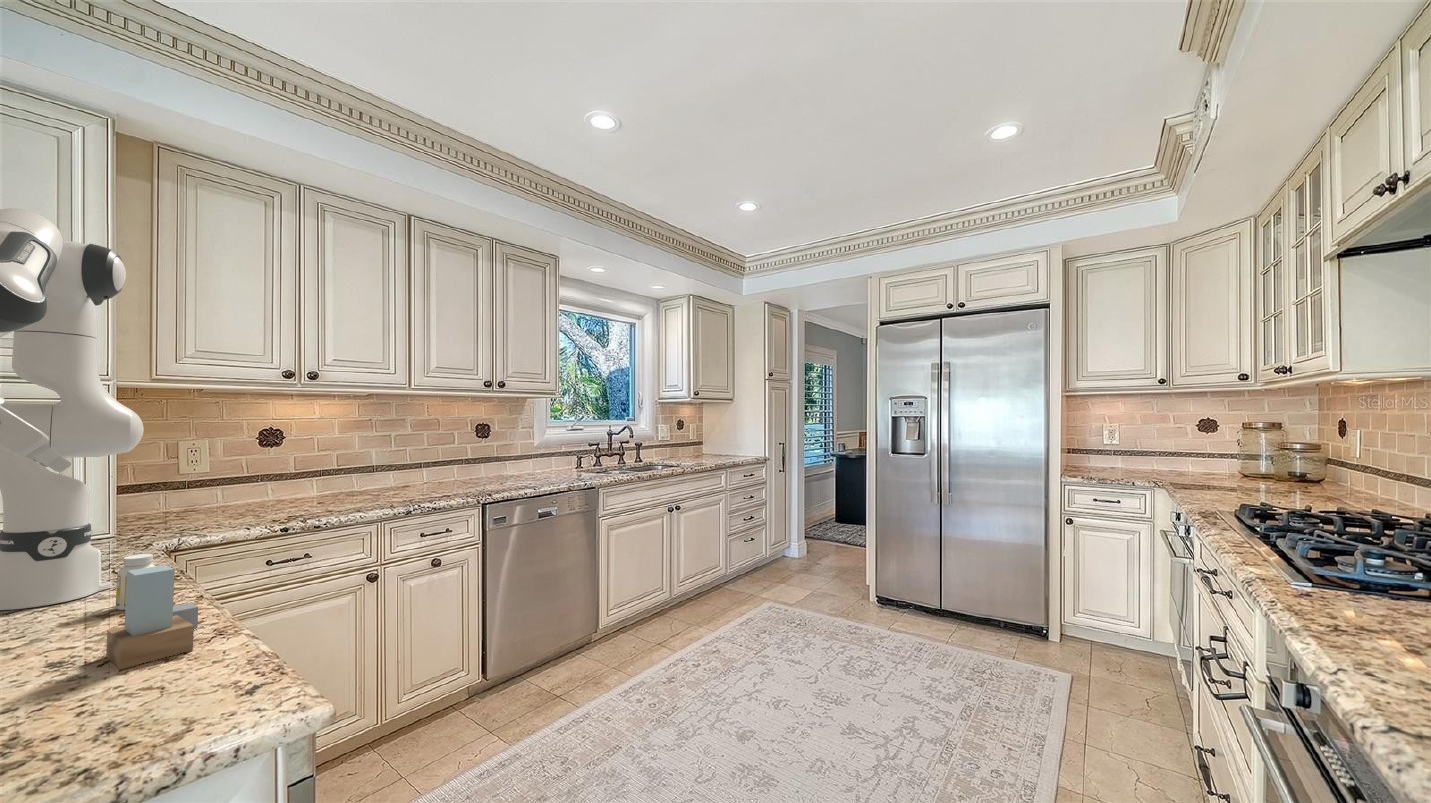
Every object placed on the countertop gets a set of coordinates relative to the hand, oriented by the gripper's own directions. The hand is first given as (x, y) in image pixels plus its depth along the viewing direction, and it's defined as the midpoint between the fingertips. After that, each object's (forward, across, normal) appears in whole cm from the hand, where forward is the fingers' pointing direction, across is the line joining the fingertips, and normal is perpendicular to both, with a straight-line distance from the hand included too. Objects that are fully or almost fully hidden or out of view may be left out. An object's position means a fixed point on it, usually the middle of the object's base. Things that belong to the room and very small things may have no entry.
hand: (58, 465), depth 83 cm
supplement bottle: (+32, +26, +11) cm, 42 cm away
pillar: (+24, -6, +12) cm, 28 cm away
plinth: (+27, -6, +14) cm, 31 cm away
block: (+32, +3, +10) cm, 33 cm away
